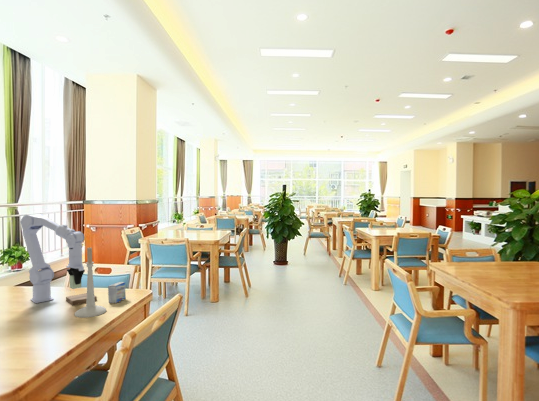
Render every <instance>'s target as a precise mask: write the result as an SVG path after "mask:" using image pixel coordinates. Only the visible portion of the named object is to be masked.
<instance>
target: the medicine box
mask: <svg viewBox="0 0 539 401" xmlns="http://www.w3.org/2000/svg"><path fill="white" fill-rule="evenodd" d="M107 288H108V289H107V291H108V292H107V294H108V296H107V297H108V303H110V304H118V303H120V302H122V301H124V300H126V282H124V281H118V282H115V283H112V284H110V285H108V287H107ZM123 299H124V300H123ZM121 300H122V301H121ZM119 301H120V302H119ZM117 302H118V303H117Z"/></svg>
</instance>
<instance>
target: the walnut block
mask: <svg viewBox="0 0 539 401" xmlns="http://www.w3.org/2000/svg"><path fill="white" fill-rule="evenodd" d="M94 298H95V302H96V301H97V300H98V299H97V298H98V297H97V295H95V294H94ZM86 300H87V292H85V293H79V294H76V295H75V294H74V295H70V296H66V297H65V301H66V302H67V303H68V304H70V305H72V306H78V305H82V304H86Z"/></svg>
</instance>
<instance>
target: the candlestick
mask: <svg viewBox="0 0 539 401" xmlns="http://www.w3.org/2000/svg"><path fill="white" fill-rule="evenodd" d="M86 251H87V252H86V254H87V255H86V257H87V259H86V260H87V261H86V262H85V264H86V268H87V273H86V274H87V276H86V277H87V278H86V279H87V280H86V293H87V300H86V303H85V304H86V305H85V306H83V307H81V308H79V309H77V310H76V311H75V312H74V317H76V318H81V319H82V318H83V319H85V318H86V319H87V318H92V317H97V316H101V315H104V314H105V313H106V312H107V307H104V306H102V305H98V304H97V305H96V301H95V298H94V295H95V286H94V274H93V273H94V272H93V271H94V270H93V267H94V263H95V262H94V261H93V247H86Z"/></svg>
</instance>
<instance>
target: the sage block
mask: <svg viewBox="0 0 539 401" xmlns="http://www.w3.org/2000/svg"><path fill="white" fill-rule="evenodd" d="M69 288H70V289H71V290H75V289H81V288H82V282H81V283H80V284H77V285H76V284H75V281H74V276H73V275H69Z"/></svg>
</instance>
